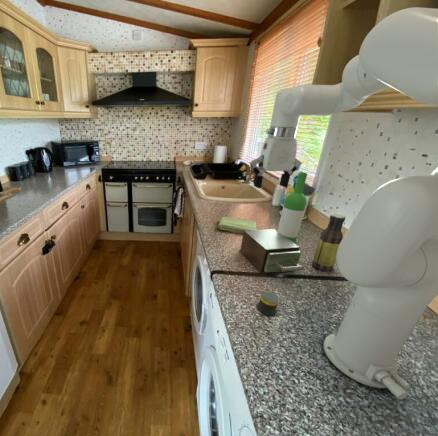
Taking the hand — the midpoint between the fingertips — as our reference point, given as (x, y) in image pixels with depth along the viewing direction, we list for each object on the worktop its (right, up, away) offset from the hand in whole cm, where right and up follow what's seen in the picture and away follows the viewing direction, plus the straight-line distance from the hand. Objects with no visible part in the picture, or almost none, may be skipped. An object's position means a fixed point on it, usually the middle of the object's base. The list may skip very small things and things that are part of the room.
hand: (270, 186), depth 82 cm
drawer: (+4, -27, +5) cm, 28 cm away
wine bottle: (+19, -21, +25) cm, 37 cm away
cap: (-8, -37, -14) cm, 40 cm away
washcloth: (+2, -16, +36) cm, 39 cm away
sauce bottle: (+22, -29, +6) cm, 37 cm away
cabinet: (+3, -26, +10) cm, 29 cm away
